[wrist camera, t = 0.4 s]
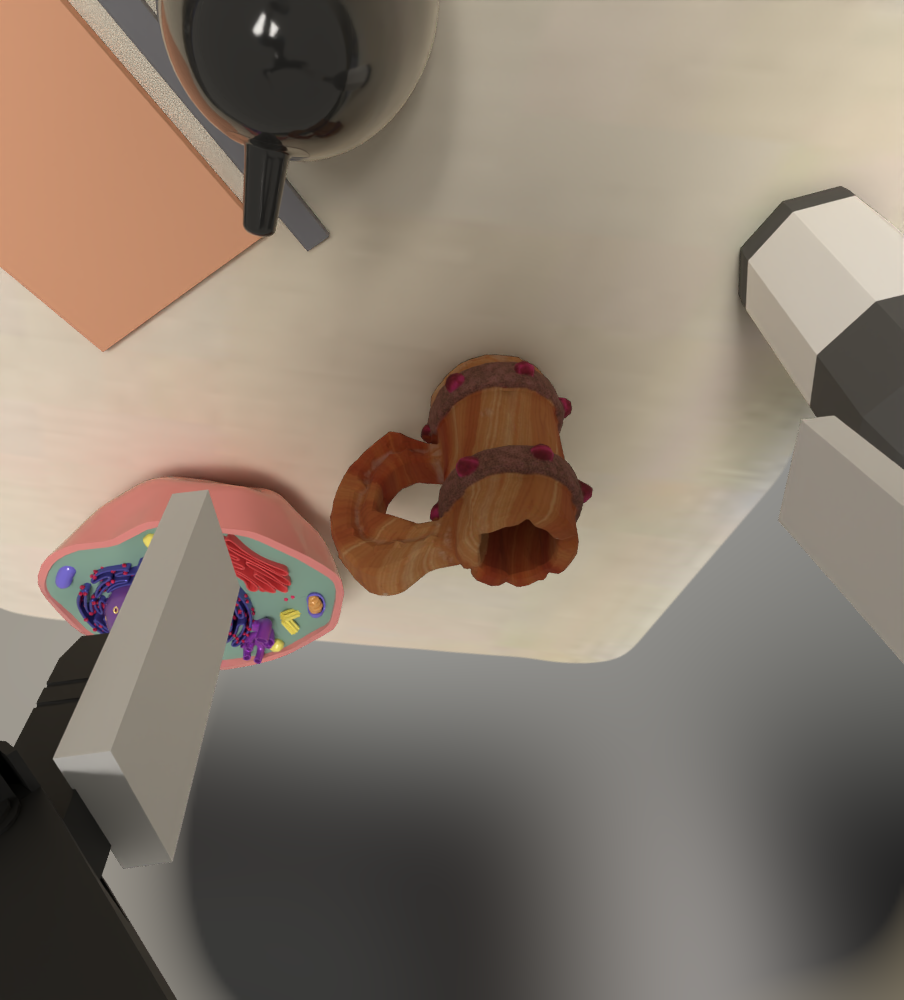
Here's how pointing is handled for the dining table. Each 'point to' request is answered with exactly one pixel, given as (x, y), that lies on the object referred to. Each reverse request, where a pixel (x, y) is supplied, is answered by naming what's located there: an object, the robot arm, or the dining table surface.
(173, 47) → the pump dispenser
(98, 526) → the cell model
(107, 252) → the mat
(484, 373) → the mug
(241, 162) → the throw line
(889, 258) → the wine bottle
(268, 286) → the dining table surface
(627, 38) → the dining table surface
